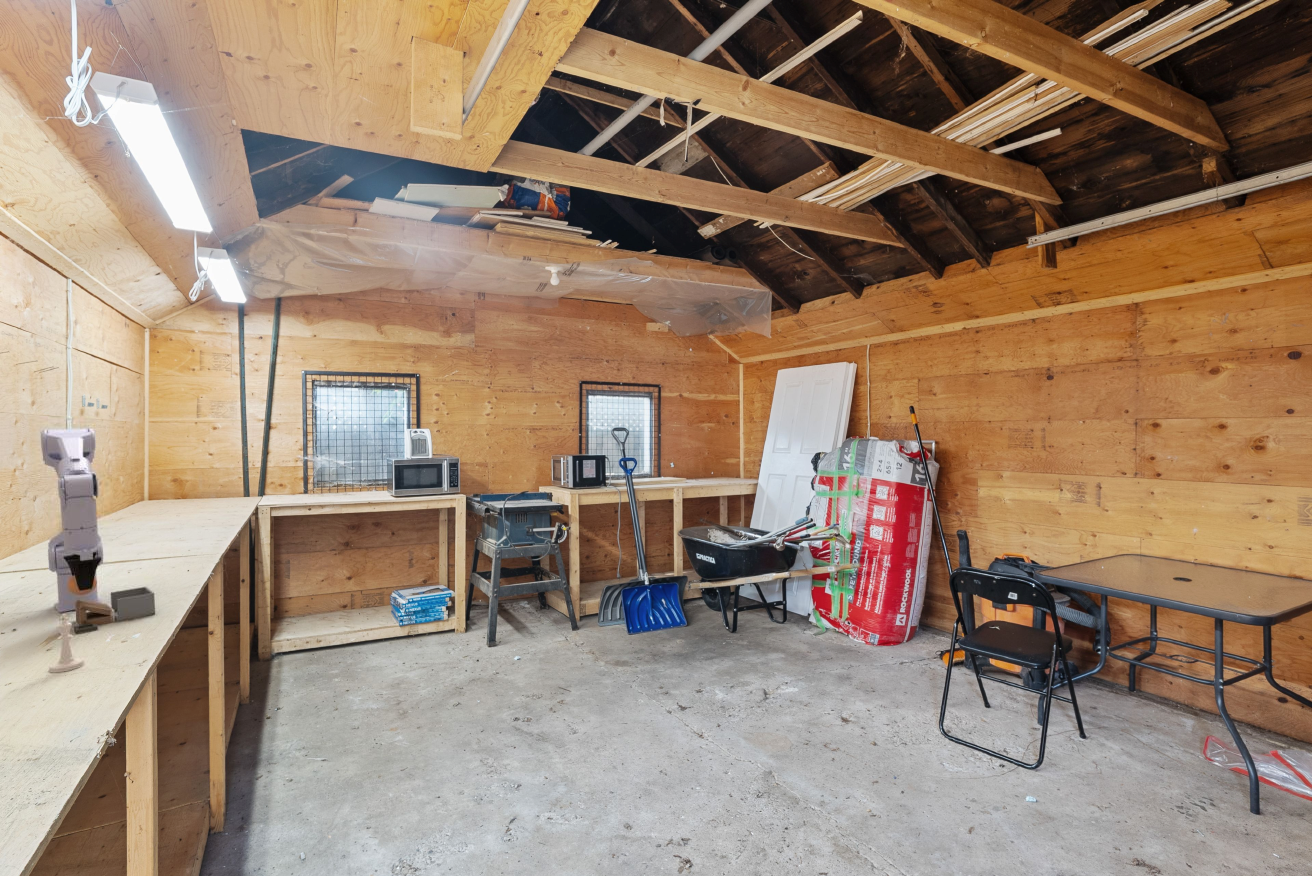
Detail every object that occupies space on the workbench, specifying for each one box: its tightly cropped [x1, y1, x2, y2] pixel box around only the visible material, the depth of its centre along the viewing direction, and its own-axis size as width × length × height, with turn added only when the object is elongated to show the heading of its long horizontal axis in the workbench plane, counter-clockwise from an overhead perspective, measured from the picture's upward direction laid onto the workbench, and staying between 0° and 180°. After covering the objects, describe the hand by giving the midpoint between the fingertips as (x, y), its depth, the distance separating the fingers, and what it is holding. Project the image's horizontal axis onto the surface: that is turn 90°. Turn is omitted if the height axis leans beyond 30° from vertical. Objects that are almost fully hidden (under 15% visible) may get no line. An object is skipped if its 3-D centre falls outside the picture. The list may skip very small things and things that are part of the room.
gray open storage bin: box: [110, 586, 156, 622], centre depth 152 cm, size 9×7×5 cm
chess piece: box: [48, 613, 85, 673], centre depth 120 cm, size 5×5×10 cm
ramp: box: [74, 599, 116, 626], centre depth 147 cm, size 8×6×5 cm
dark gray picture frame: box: [73, 623, 99, 635], centre depth 141 cm, size 4×4×1 cm
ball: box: [68, 575, 98, 595], centre depth 145 cm, size 5×5×5 cm
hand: (83, 587), depth 145 cm, fingers closed on ball, 5 cm apart
